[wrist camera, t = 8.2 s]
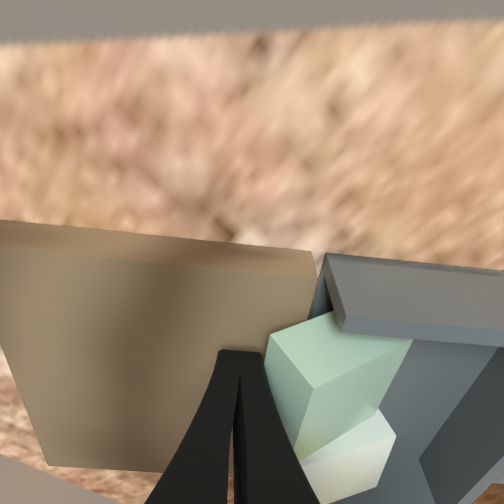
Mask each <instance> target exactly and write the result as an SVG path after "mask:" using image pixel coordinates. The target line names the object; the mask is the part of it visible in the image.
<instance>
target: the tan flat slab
mask: <svg viewBox="0 0 504 504" xmlns="http://www.w3.org/2000/svg"><path fill="white" fill-rule="evenodd" d="M317 282H318V276H317V272H316V268H315V265H314V261H313V257H312V253H311V251H302V250H292V249H282V248H272V247H263V246H253V245H243V244H233V243H223V242H213V241H203V240H194V239H184V238H174V237H164V236H154V235H144V234H134V233H125V232H115V231H105V230H95V229H85V228H75V227H65V226H56V225H46V224H36V223H26V222H16V221H6V220H0V344H1V347H2V349H3V352H4V354H5V357H6V359H7V362H8V365H9V367H10V370H11V372H12V375H13V377H14V380H15V382H16V385H17V388H18V390H19V393H20V395H21V398H22V400H23V403H24V405H25V408H26V411H27V413H28V416H29V418H30V421H31V423H32V426H33V428H34V431H35V434H36V436H37V439H38V441H39V444H40V446H41V449H42V451H43V454H44V457H45V459H46V462H47V464H48V466H61V467H77V468H94V469H110V470H126V471H143V472H159V473H164V472H165V470H166V468H167V466H168V465H169V463H170V461H171V460H172V458H173V456H174V454H175V453H176V451H177V449H178V447H179V445H180V444H181V442H182V440H183V438H184V436H185V434H186V432H187V430H188V428H189V426H190V424H191V422H192V420H193V418H194V416H195V414H196V412H197V410H198V408H199V405H200V403H201V401H202V398H203V396H204V394H205V392H206V389H207V387H208V384H209V381H210V379H211V376H212V373H213V370H214V367H215V363H216V359H217V354H218V351H220V350H221V349H226V350H238V351H250V352H259V353H260V354H261V355H262V358H263V363H264V361H265V356H266V351H267V346H268V342H269V337H270V334H273V333H275V332H278V331H281V330H283V329H286V328H289V327H292V326H294V325H297V324H300V323H302V322H305V321H307V318H308V314H309V311H310V307H311V303H312V300H313V296H314V293H315V289H316V285H317ZM228 477H234V473H233V428H232V433H231V441H230V450H229V469H228Z"/></svg>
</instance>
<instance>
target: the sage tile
mask: <svg viewBox="0 0 504 504" xmlns="http://www.w3.org/2000/svg"><path fill="white" fill-rule="evenodd" d="M413 340H414V339H407V338H396V337H384V336H373V335H362V334H350V333H341V332H340V329H339V325H338V322H337V318H336V315H335V311H332V312H329V313H326V314H324V315H321V316H318V317H316V318H313V319H310V320H308V321H305V322H302V323H300V324H297V325H294V326H292V327H289V328H286V329H283V330H281V331H278V332H275V333H273V334H270V337H269V342H268V346H267V351H266V356H265V361H264V368H265V372H266V376H267V379H268V383H269V386H270V389H271V393H272V396H273V399H274V402H275V404H276V407H277V410H278V413H279V415H280V418H281V421H282V423H283V426H284V428H285V431H286V433H287V436H288V438H289V440H290V443H291V445H292V447H293V450H294V452H295V454H296V456H297V458H298V461H301V460H303V459H304V458H306V457H307V456H309V455H311V454H312V453H314V452H316V451H317V450H319V449H320V448H322V447H324V446H325V445H327V444H328V443H330V442H332V441H333V440H335V439H337V438H338V437H340V436H341V435H343V434H345V433H346V432H348V431H349V430H351V429H353V428H354V427H356V426H358V425H359V424H361V423H362V422H364V421H366V420H367V419H369V418H370V417H372V416H374V415H375V413H376V411H377V409H378V407H379V405H380V403H381V401H382V399H383V397H384V395H385V393H386V392H387V390H388V388H389V386H390V384H391V382H392V380H393V378H394V376H395V374H396V372H397V370H398V368H399V367H400V365H401V363H402V361H403V359H404V357H405V355H406V353H407V351H408V349H409V347H410V345H411V343H412V342H413Z"/></svg>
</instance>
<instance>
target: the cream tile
mask: <svg viewBox="0 0 504 504" xmlns="http://www.w3.org/2000/svg"><path fill="white" fill-rule="evenodd" d="M395 439H396V434H395V433H394V431H393V430H392V428H391V427H390V425H389V424H388V422H387V421H386V419H385V418H384V416H383V414H382V413H381V411H380V410H379V408H378V409H377V411H376V413H375V415H374V416H372V417H370V418H369V419H367V420H366V421H364V422H362V423H361V424H359V425H358V426H356V427H354V428H353V429H351V430H349V431H348V432H346V433H345V434H343V435H341V436H340V437H338V438H337V439H335V440H333V441H332V442H330V443H328V444H327V445H325V446H324V447H322V448H320V449H319V450H317V451H316V452H314V453H312V454H311V455H309V456H307V457H306V458H304V459H303V460H301V461H299V463H300V465H301V467H302V469H303V471H304V473H305V475H306V477H307V479H308V481H309V483H310V485H311V487H312V489H313V491H314V493H315V494H316V496H317V498H318V500H319V502H320V504H329V503H332V502H335V501H338V500H340V499H343V498H346V497H349V496H352V495H355V494H357V493H360V492H363V491H366V490H369V489H372V488H374V487H376V486H377V484H378V481H379V479H380V476H381V474H382V471H383V469H384V466H385V464H386V461H387V459H388V456H389V454H390V451H391V449H392V446H393V444H394V441H395Z"/></svg>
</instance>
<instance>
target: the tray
mask: <svg viewBox="0 0 504 504" xmlns="http://www.w3.org/2000/svg"><path fill="white" fill-rule="evenodd" d="M332 311H335V315H336V318H337V322H338V325H339V329H340V332H341V333H350V334H362V335H373V336H384V337H396V338H407V339H414V340H413V342H412V343H411V345H410V347H409V349H408V351H407V353H406V355H405V357H404V359H403V361H402V363H401V365H400V367H399V368H398V370H397V372H396V374H395V376H394V378H393V380H392V382H391V384H390V386H389V388H388V390H387V392H386V393H385V395H384V397H383V399H382V401H381V403H380V405H379V407H378V408H379V410H380V411H381V413H382V414H383V416H384V418H385V419H386V421H387V422H388V424H389V425H390V427H391V428H392V430H393V431H394V433H395V434H396V439H395V441H394V444H393V446H392V449H391V451H390V454H389V456H388V459H387V461H386V464H385V466H384V469H383V471H382V474H381V476H380V479H379V481H378V484H377V486H376V487H374V488H372V489H369V490H366V491H363V492H360V493H357V494H355V495H352V496H349V497H346V498H343V499H340V500H338V501H335V502H332V503H329V504H472V503H473V502H474V501H475V500H476V499H477V498H478V497H479V496H480V495H481V494H482V493H483V492H484V491H485V490H486V489H487V488H488V487H489V486H490V485H491V484H492V483H493V482H494V481H495V480H496V479H497V478H498V477H499V476H500V475H501V474H502V473H503V472H504V271H499V270H489V269H479V268H470V267H460V266H450V265H440V264H430V263H420V262H410V261H401V260H391V259H381V258H371V257H361V256H351V255H341V254H332V253H326V255H325V258H324V262H323V265H322V269H321V273H320V276H319V280H318V284H317V287H316V291H315V294H314V298H313V302H312V305H311V309H310V313H309V316H308V320H310V319H313V318H316V317H318V316H321V315H324V314H326V313H329V312H332ZM308 320H307V321H308Z"/></svg>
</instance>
